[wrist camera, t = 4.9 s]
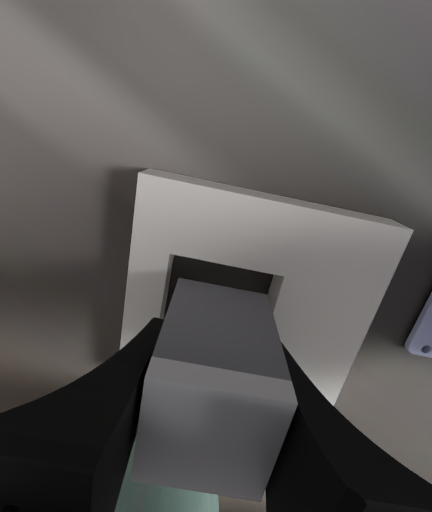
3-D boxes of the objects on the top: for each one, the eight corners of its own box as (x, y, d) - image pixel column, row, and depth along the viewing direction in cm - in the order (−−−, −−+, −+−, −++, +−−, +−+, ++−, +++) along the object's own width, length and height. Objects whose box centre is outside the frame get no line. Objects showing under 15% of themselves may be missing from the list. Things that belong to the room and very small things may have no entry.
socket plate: (390, 218, 15) (416, 231, 13) (314, 399, 19) (324, 430, 17) (149, 168, 14) (137, 173, 12) (126, 365, 19) (114, 393, 17)
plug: (267, 294, 13) (298, 403, 8) (247, 365, 15) (260, 501, 9) (178, 277, 13) (144, 377, 8) (166, 351, 15) (130, 481, 9)
